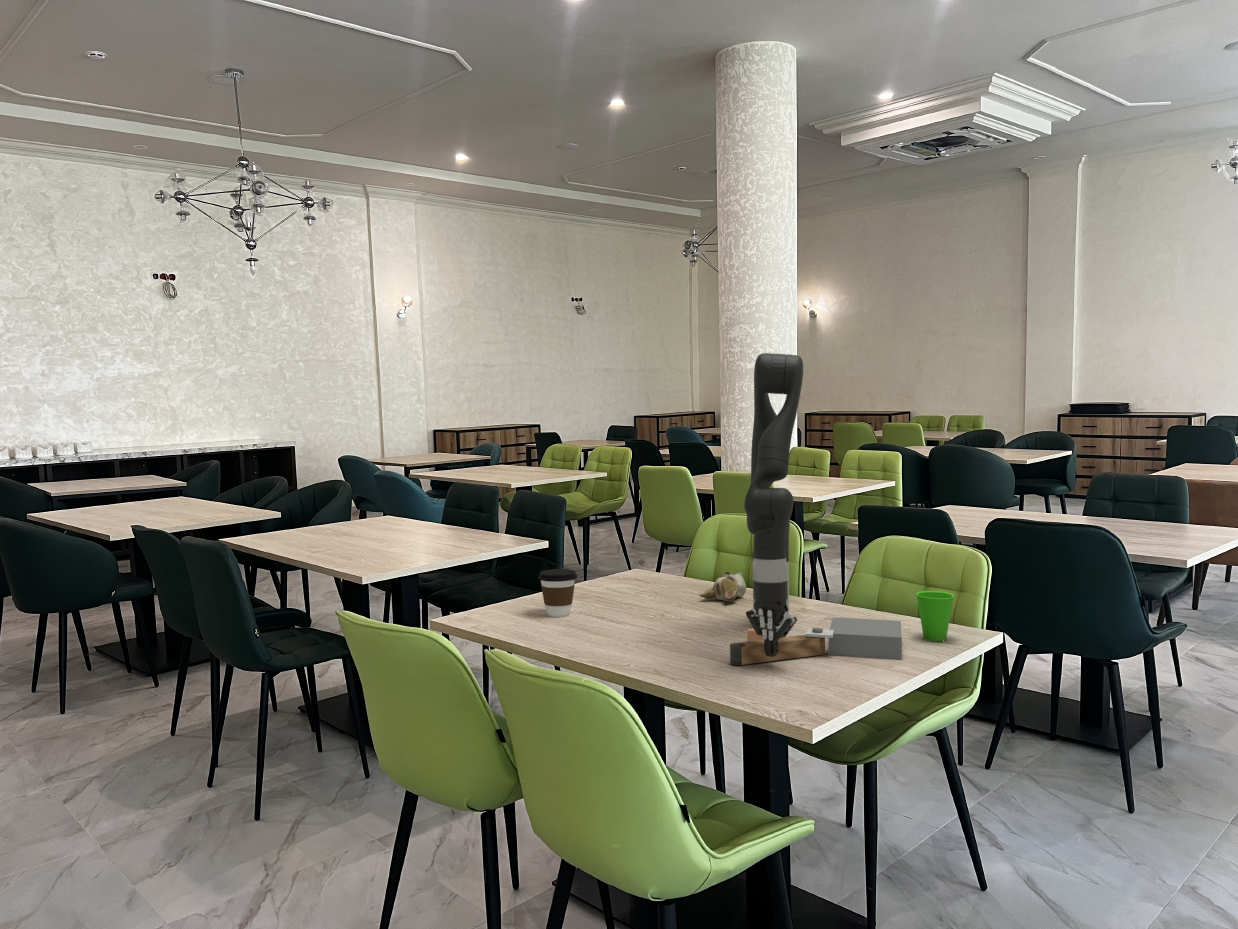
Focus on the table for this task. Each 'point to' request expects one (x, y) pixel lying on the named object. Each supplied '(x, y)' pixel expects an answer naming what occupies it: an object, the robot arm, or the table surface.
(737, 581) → the ceramic sculpture
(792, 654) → the leg
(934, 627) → the cup
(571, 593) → the coffee cup
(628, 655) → the table surface
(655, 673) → the table surface
